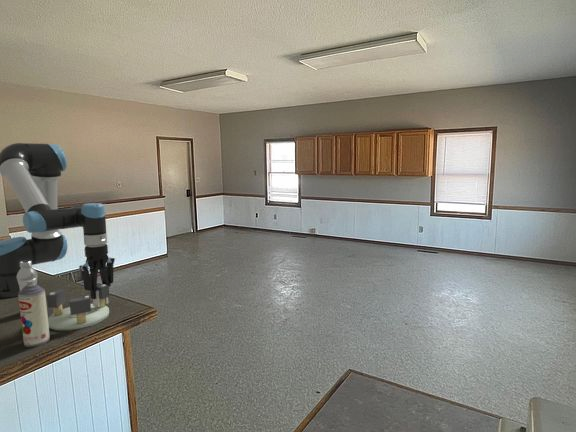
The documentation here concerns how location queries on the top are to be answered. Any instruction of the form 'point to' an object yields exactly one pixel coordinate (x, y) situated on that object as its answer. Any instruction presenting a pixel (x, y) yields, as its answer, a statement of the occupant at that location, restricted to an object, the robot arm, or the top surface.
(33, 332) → the aerosol can
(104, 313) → the base
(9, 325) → the top surface
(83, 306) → the knob front
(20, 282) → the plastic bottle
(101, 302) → the grey block on peg
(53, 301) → the dark grey rectangular block
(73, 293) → the top surface
